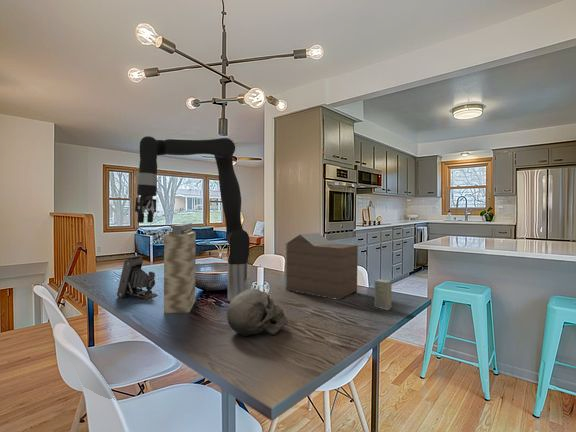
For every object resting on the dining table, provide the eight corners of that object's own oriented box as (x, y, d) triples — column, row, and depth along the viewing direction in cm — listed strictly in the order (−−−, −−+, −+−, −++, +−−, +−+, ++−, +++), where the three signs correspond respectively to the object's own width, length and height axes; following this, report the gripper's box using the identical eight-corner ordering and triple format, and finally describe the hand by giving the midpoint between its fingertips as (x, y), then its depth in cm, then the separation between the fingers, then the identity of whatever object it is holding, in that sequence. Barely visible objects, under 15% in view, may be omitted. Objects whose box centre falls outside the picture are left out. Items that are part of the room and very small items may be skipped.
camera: (144, 308, 146) (155, 266, 145) (113, 296, 149) (123, 255, 148) (158, 301, 157) (168, 263, 156) (129, 291, 160) (139, 253, 159)
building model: (302, 283, 185) (302, 231, 185) (357, 292, 165) (357, 235, 165) (282, 289, 170) (283, 233, 170) (340, 300, 150) (341, 237, 150)
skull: (297, 322, 106) (255, 283, 102) (263, 361, 103) (219, 322, 99) (286, 310, 119) (248, 275, 115) (256, 344, 116) (216, 310, 112)
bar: (191, 230, 155) (191, 223, 154) (181, 234, 129) (181, 225, 129) (184, 230, 154) (184, 223, 154) (172, 234, 128) (172, 225, 128)
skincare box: (391, 308, 138) (392, 280, 138) (387, 311, 135) (387, 282, 135) (378, 305, 142) (378, 278, 142) (373, 307, 139) (374, 280, 139)
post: (195, 301, 146) (195, 229, 145) (189, 312, 130) (190, 231, 129) (172, 301, 144) (172, 229, 144) (163, 313, 128) (164, 231, 128)
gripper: (148, 183, 128) (146, 223, 128) (163, 186, 142) (161, 222, 142) (130, 182, 128) (128, 222, 128) (146, 185, 142) (144, 221, 142)
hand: (145, 222), depth 135 cm, fingers open, 8 cm apart
